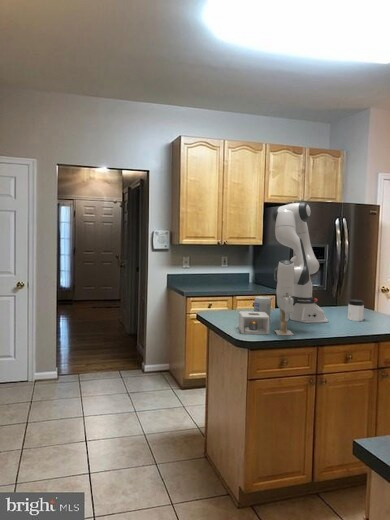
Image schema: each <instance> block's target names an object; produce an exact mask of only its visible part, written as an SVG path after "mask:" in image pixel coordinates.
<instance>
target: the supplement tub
mask: <svg viewBox="0 0 390 520" xmlns="http://www.w3.org/2000/svg"><path fill="white" fill-rule="evenodd" d="M271 310H272V297H269V296H264V295H263V296H261V295H259V296H255V297H254V304H253V312H265V313H266V314H267V315H268V316H269V317H270V318H271V313H272V312H271ZM269 324H271V319H270V320H269Z"/></svg>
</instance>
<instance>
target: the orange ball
mask: <svg viewBox="0 0 390 520" xmlns="http://www.w3.org/2000/svg"><path fill="white" fill-rule="evenodd" d="M250 330H257V321H250Z"/></svg>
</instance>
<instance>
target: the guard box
mask: <svg viewBox="0 0 390 520" xmlns="http://www.w3.org/2000/svg"><path fill="white" fill-rule="evenodd" d="M269 320H270V321H271V316H270V317H269V316H268V315H267V314H266V313H265V312H254V311H249V310H246V311H243V310H241V311H239V312H238V328H239V331H240V332H241V334H248V335H249V334H250V335H251V334H252V335H253V334H254V335H269V334H270V323H269ZM250 321H257V330H250Z"/></svg>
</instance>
